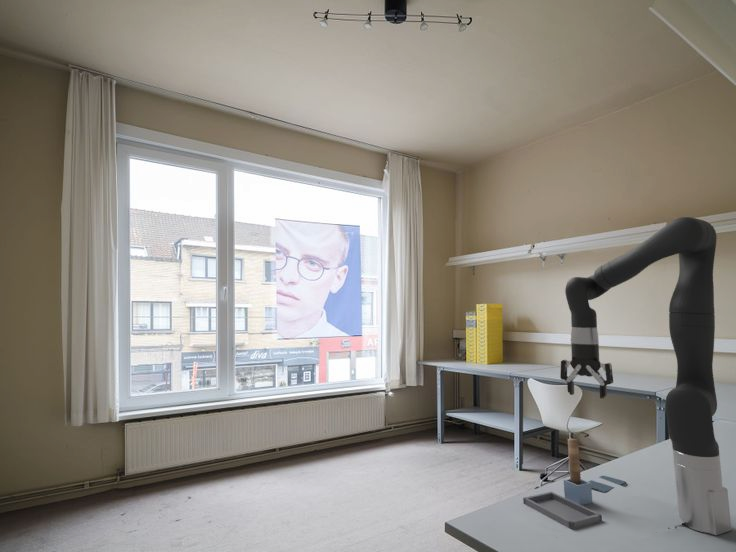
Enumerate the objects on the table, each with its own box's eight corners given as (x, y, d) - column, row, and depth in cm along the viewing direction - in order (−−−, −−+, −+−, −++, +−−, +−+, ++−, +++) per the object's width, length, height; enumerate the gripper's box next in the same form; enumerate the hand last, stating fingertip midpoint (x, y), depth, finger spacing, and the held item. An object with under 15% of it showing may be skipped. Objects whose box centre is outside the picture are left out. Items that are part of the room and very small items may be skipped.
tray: (602, 525, 105) (601, 514, 105) (572, 533, 101) (571, 522, 101) (551, 500, 120) (551, 491, 120) (523, 507, 116) (523, 497, 116)
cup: (592, 506, 116) (591, 483, 116) (579, 509, 114) (577, 485, 114) (578, 499, 120) (576, 477, 121) (565, 502, 118) (563, 479, 119)
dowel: (584, 501, 116) (580, 440, 118) (577, 503, 115) (573, 441, 117) (576, 497, 119) (572, 438, 120) (569, 499, 118) (565, 439, 119)
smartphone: (628, 481, 130) (605, 492, 121) (628, 487, 130) (605, 498, 121) (602, 474, 136) (578, 484, 127) (602, 480, 136) (579, 490, 127)
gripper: (613, 342, 129) (616, 397, 128) (564, 340, 139) (566, 391, 138) (607, 344, 124) (609, 401, 122) (556, 341, 134) (558, 394, 132)
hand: (586, 396), depth 130 cm, fingers open, 8 cm apart
